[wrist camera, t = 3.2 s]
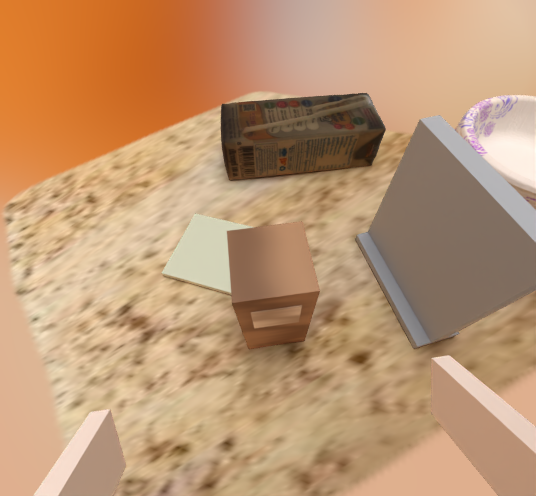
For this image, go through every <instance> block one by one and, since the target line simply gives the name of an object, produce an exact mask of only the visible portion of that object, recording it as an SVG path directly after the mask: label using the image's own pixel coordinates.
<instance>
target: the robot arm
mask: <svg viewBox="0 0 536 496" xmlns="http://www.w3.org/2000/svg"><path fill="white" fill-rule="evenodd" d="M431 414H432V415H433V417H434V418H435V419H436V420H437V422H438V423H439V424H440V425H441V426H442V428H443V429H444V430H445V431H446V433H447V434H448V435H449V436H450V437H451V439H452V440H453V441H454V442H455V443H456V445H457V446H458V447H459V448H460V450H461V451H462V452H463V453H464V454H465V456H466V457H467V458H468V459H469V461H470V462H471V463H472V464H473V465H474V467H475V468H476V469H477V470H478V472H480V474H481V475H482V476H483V478H484V479H485V480H486V481H487V482H488V484H489V485H490V486H491V487H492V489H493V490H494V491H495V492H496V493H497V495H498V496H536V426H534V425H533V424H532V423H531V422H530V421H528V420H527V419H526V418H525V417H523V416H522V415H521V414H520V413H519V412H517V411H516V410H515V409H514V408H512V407H511V406H510V405H509V404H508V403H506V402H505V401H504V400H503V399H502V398H500V397H499V396H498V395H497V394H496V393H494V392H493V391H492V390H491V389H490V388H488V387H487V386H486V385H485V384H483V383H482V382H481V381H480V380H479V379H477V378H476V377H475V376H474V375H473V374H471V373H470V372H469V371H468V370H466V369H465V368H464V367H463V366H462V365H460V364H459V363H458V362H457V361H456V360H454V359H453V358H452V357H451V356H449V355H447V356H441V357H435V358H432V367H431ZM125 467H126V463H125V460H124V456H123V452H122V449H121V445H120V442H119V438H118V435H117V431H116V428H115V424H114V421H113V417H112V413H111V410H110V409H107V410H101V411H95V412H90V413H89V415H88V416H87V418H86V419H85V421H84V422H83V424H82V425H81V427H80V428H79V429H78V431H77V432H76V434H75V435H74V437H73V438H72V440H71V441H70V443H69V444H68V446H67V447H66V448H65V450H64V451H63V453H62V454H61V456H60V457H59V459H58V460H57V462H56V463H55V465H54V466H53V468H52V469H51V471H50V472H49V473H48V475H47V476H46V478H45V479H44V481H43V482H42V484H41V485H40V487H39V488H38V490H37V491H36V492H35V494H34V496H113V495H114V493H115V491H116V488H117V486H118V484H119V481H120V479H121V476H122V474H123V472H124V469H125Z"/></svg>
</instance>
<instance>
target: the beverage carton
mask: <svg viewBox="0 0 536 496" xmlns="http://www.w3.org/2000/svg"><path fill="white" fill-rule="evenodd" d="M385 130H386V129H385V126H384V124H383V122H382V120H381V118H380V116H379V115H378V113H377V111H376V109H375V107H374V105H373V102H372V100H371V98H370V96H369V95H368V94H367V93H359V94H347V95H329V96H315V97H301V98H287V99H275V100H263V101H248V102H239V103H230V104H222V106H221V141H222V151H223V156H224V161H225V166H226V170H227V173H228V177H229V180H233V179H246V178H255V177H266V176H275V175H285V174H296V173H306V172H315V171H326V170H335V169H345V168H352V167H360V166H370V165H372V162H373V160H374V158H375V157H376V154H377V152H378V149H379V146H380V143H381V140H382V138H383V135H384V133H385Z"/></svg>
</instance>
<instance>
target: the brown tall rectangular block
mask: <svg viewBox="0 0 536 496" xmlns="http://www.w3.org/2000/svg"><path fill="white" fill-rule="evenodd" d="M227 241H228V255H229V269H230V283H231V297H232V305H233V307H234V310H235V313H236V316H237V318H238V321H239V324H240V326H241V329H242V332H243V335H244V337H245V340H246V343H247V346H248V348H249V349H252V348H259V347H266V346H273V345H280V344H286V343H293V342H300V341H305V337H306V334H307V331H308V328H309V324H310V321H311V318H312V315H313V312H314V308H315V305H316V302H317V299H318V295H319V292H320V289H319V285H318V281H317V277H316V273H315V269H314V265H313V261H312V257H311V254H310V250H309V246H308V242H307V238H306V234H305V230H304V226H303V222H302V221H301V222H293V223H286V224H278V225H270V226H262V227H254V228H246V229H238V230H230V231H227Z"/></svg>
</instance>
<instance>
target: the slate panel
mask: <svg viewBox="0 0 536 496" xmlns="http://www.w3.org/2000/svg"><path fill="white" fill-rule="evenodd" d="M355 239H356V241H357V243H358V245H359V247H360V249H361V251H362V253H363V254H364V256H365V258H366V260H367V262H368V264H369V266H370V268H371V269H372V271H373V273H374V275H375V277H376V279H377V281H378V283H379V284H380V286H381V288H382V290H383V292H384V294H385V296H386V298H387V300H388V301H389V303H390V305H391V307H392V309H393V311H394V313H395V315H396V316H397V318H398V320H399V322H400V324H401V326H402V328H403V330H404V331H405V333H406V335H407V337H408V339H409V341H410V343H411V345H412V346H413V348H414V349H415V348H418V347H421V346H424V345H428V344H431V343H434V342H437V341H441V340H444V339H447V338H450V337H454V336H456V335H458V334H459V332H458V331H460V330H462V329H464V328H466V327H467V326H469V325H471V324H473V323H475V322H477V321H479V320H481V319H482V318H484V317H486V316H488V315H490V314H492V313H494V312H496V311H498V310H499V309H501V308H503V307H505V306H507V305H509V304H511V303H513V302H514V301H516V300H518V299H520V298H522V297H524V296H526V295H528V294H529V293H531V292H533V291H535V290H536V210H535V209H534V208H533V207H532V206H531V205H530V204H529V203H528V202H527V201H526V200H525V199H524V198H523V197H522V196H521V195H520V194H519V193H518V192H517V191H516V190H515V189H514V188H513V187H512V186H511V185H510V184H509V183H508V182H507V181H506V180H505V179H504V178H503V177H502V176H501V175H500V174H499V173H498V172H497V171H496V170H495V169H494V168H493V167H492V166H491V165H490V164H489V163H488V162H487V161H486V160H485V159H484V158H483V157H482V156H481V155H480V154H479V153H478V152H477V151H476V150H475V149H474V148H473V147H472V146H471V145H469V144H468V143H467V142H466V141H465V140H464V139H463V138H462V137H461V136H460V135H459V134H458V133H457V132H456V131H455V130H454V129H453V128H452V127H451V126H450V125H449V124H448V123H447V122H446V121H445V120H444V119H443V118H442V117H441V116H440V115H438V116H433V117H428V118H424V119H420V120H419V122H418V125H417V127H416V129H415V131H414V133H413V135H412V138H411V140H410V142H409V144H408V146H407V148H406V151H405V153H404V155H403V157H402V159H401V161H400V164H399V166H398V168H397V170H396V172H395V174H394V177H393V179H392V181H391V183H390V185H389V187H388V190H387V192H386V194H385V196H384V198H383V200H382V203H381V205H380V207H379V209H378V211H377V213H376V216H375V218H374V220H373V222H372V224H371V226H370V229H369V231H368V232H366V233H362V234H358V235H357V236H356V238H355Z"/></svg>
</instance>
